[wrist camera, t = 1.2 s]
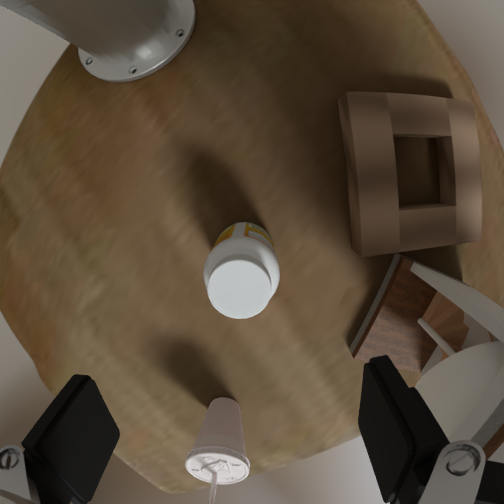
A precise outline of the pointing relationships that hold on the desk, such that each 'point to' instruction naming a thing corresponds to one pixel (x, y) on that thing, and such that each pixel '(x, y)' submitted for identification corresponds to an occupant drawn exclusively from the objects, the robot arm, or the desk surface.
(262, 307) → the supplement bottle
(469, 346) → the tall seamed white column
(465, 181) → the socket block
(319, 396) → the desk surface
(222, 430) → the smoothie
